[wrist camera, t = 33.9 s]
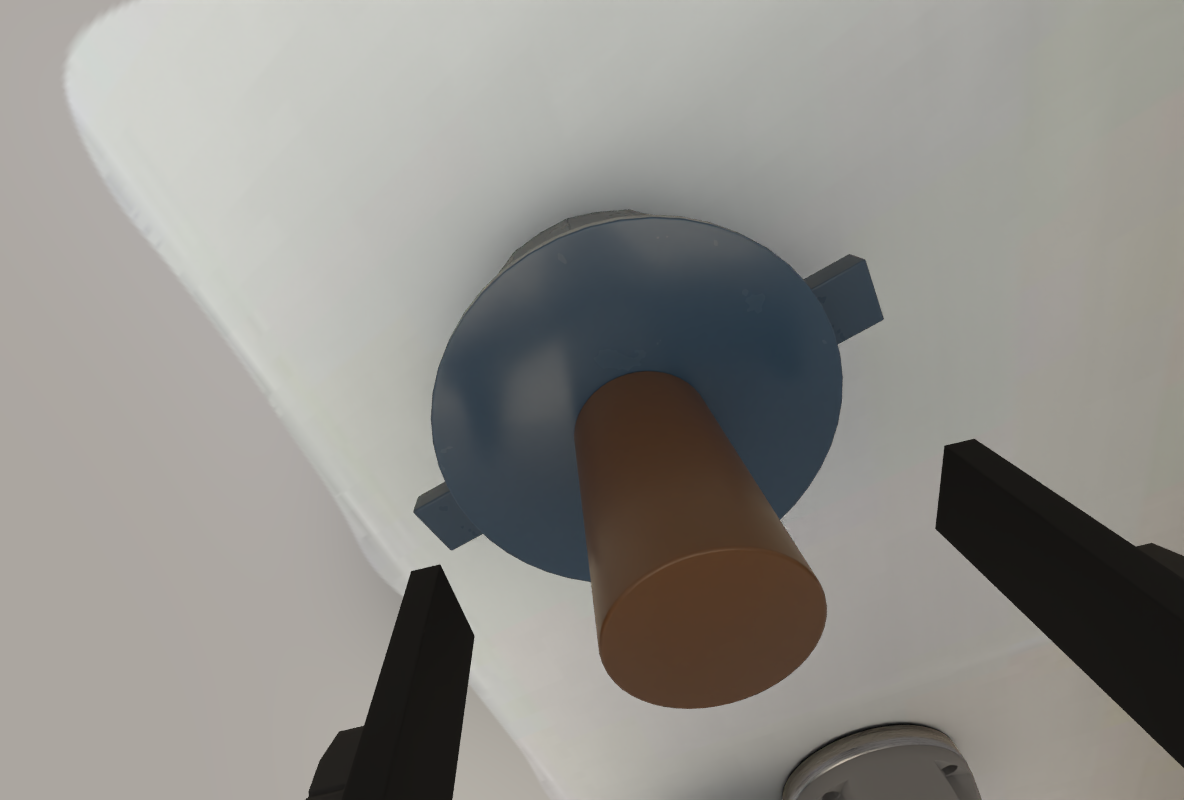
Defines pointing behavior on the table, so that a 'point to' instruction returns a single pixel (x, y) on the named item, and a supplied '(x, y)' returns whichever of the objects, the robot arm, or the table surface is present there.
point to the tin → (834, 286)
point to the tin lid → (651, 444)
